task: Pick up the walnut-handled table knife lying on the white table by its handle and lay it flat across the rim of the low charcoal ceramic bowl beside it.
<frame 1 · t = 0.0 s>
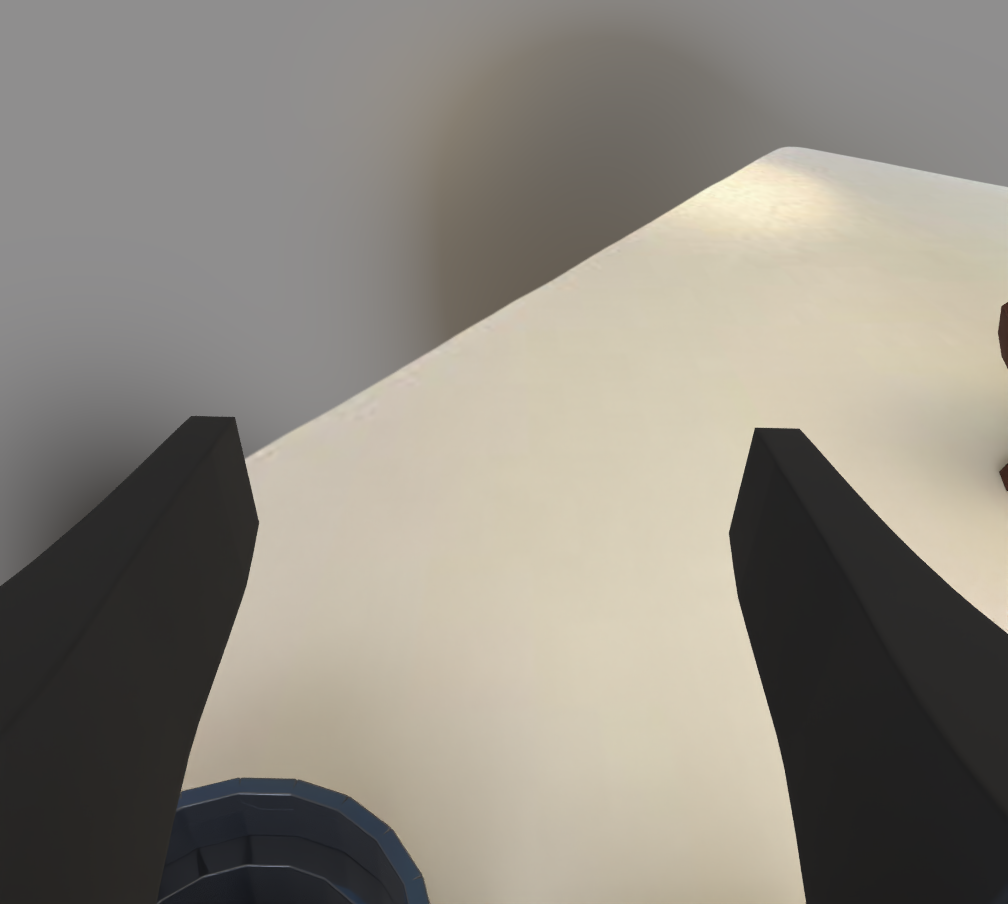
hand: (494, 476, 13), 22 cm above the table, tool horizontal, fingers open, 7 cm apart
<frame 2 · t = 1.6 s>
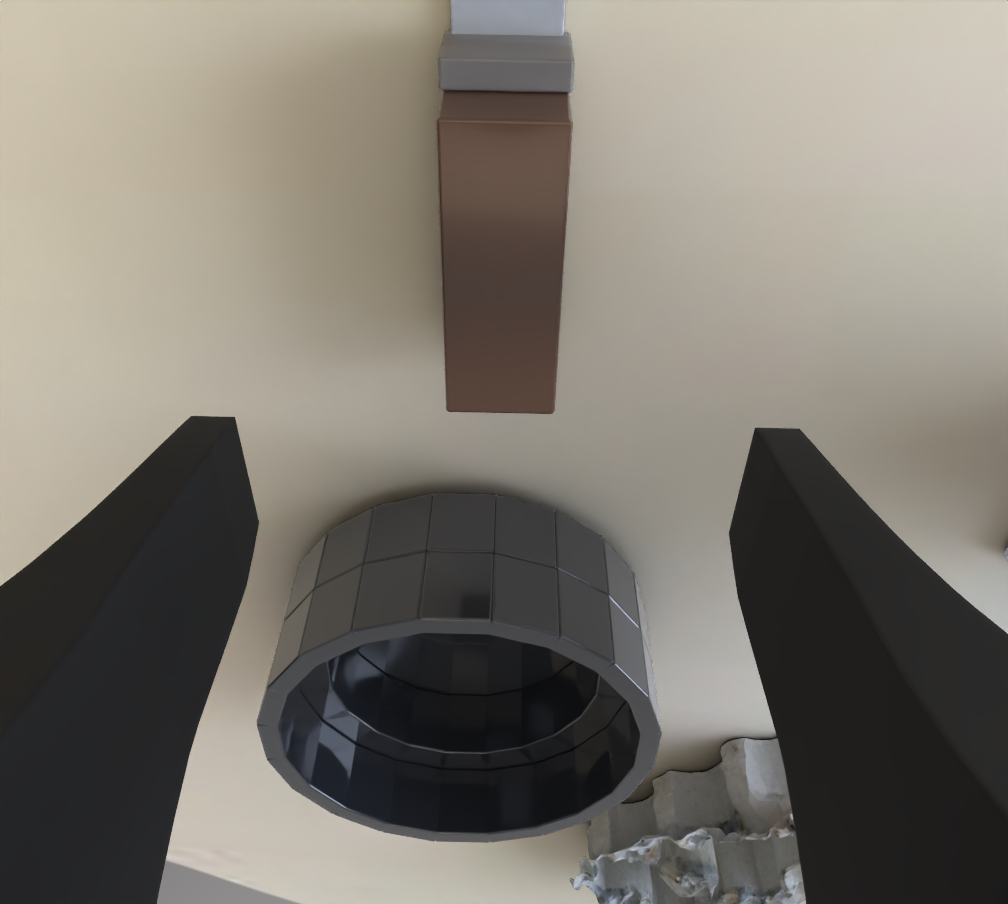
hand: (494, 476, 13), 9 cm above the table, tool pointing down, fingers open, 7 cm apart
knife: (507, 8, 17), on the table
egg carton: (714, 800, 37), on the table
bowl: (467, 608, 29), on the table
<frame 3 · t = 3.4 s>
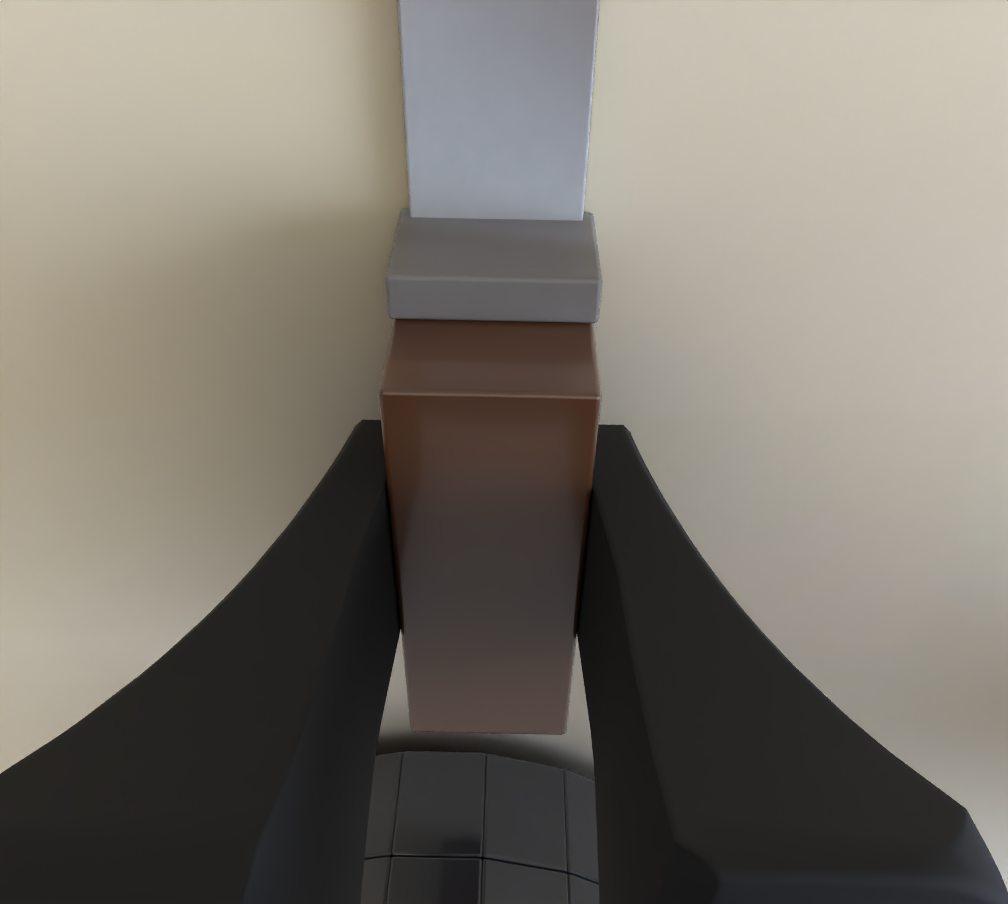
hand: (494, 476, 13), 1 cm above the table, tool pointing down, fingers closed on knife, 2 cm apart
knife: (497, 178, 11), on the table, touching gripper
bowl: (452, 852, 23), on the table
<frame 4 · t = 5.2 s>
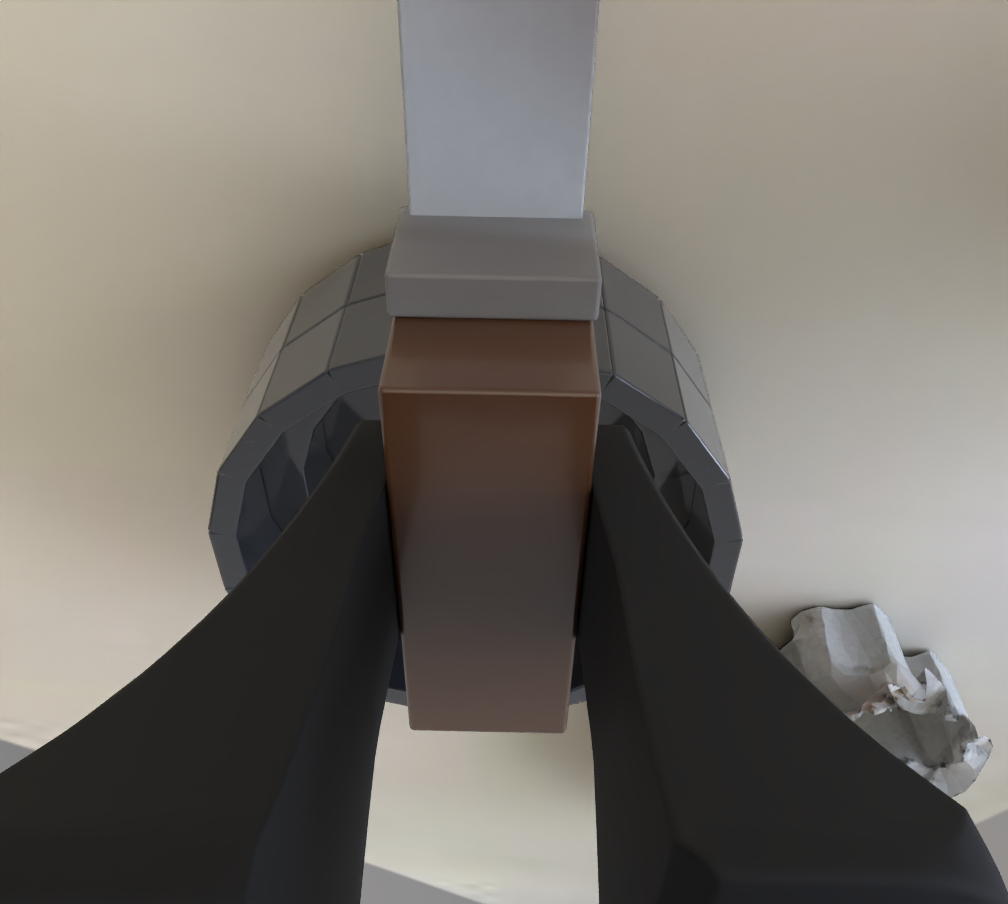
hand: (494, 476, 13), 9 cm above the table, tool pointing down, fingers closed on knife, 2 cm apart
knife: (496, 176, 11), point 7 cm above the table, touching gripper
egg carton: (778, 695, 31), on the table
bowl: (483, 421, 23), on the table
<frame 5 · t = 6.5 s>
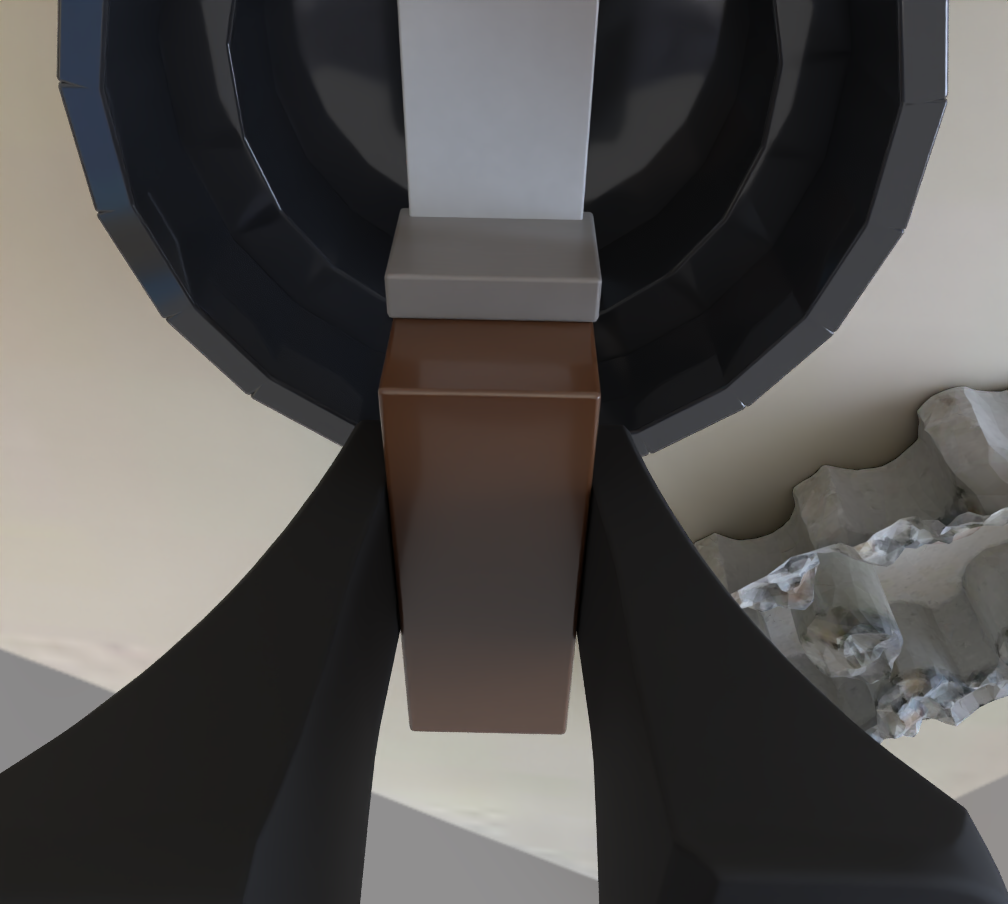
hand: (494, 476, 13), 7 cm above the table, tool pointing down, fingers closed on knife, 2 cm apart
knife: (496, 178, 11), point 6 cm above the table, touching gripper
egg carton: (882, 536, 23), on the table
bowl: (506, 45, 16), on the table
when the fingers open (6 cm above the table, at t = 6.9 s): knife stays where it is, resting on bowl.
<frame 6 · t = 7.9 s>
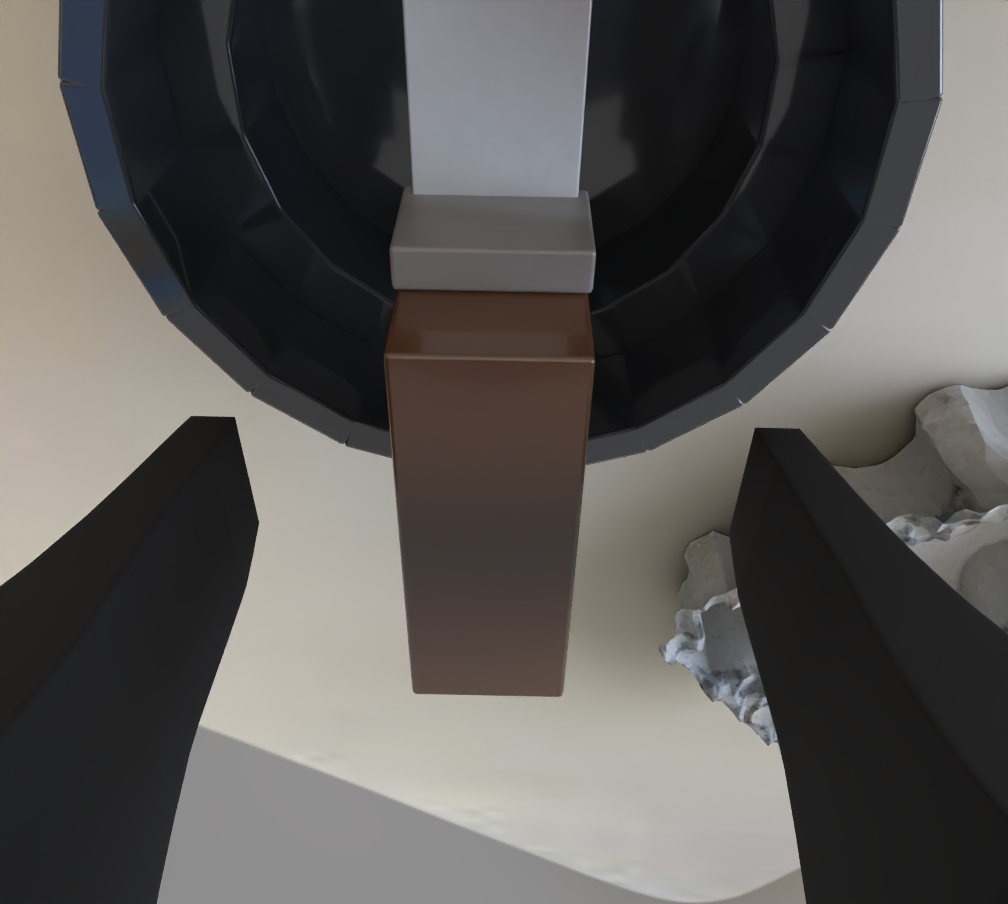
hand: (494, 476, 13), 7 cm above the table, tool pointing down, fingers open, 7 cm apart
knife: (496, 157, 12), point 5 cm above the table, touching bowl
egg carton: (880, 534, 24), on the table
bowl: (504, 45, 16), on the table
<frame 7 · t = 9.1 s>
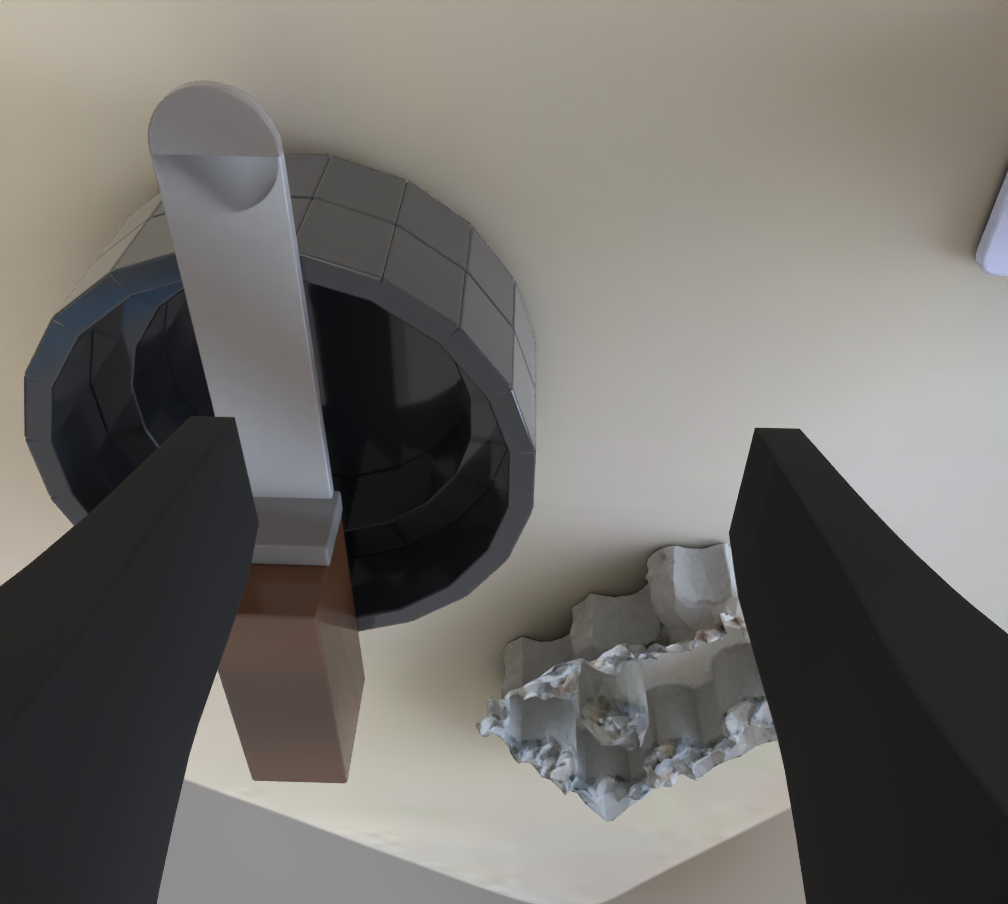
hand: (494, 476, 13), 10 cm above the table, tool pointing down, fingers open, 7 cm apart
knife: (283, 475, 20), point 5 cm above the table, touching bowl
egg carton: (648, 638, 32), on the table
bowl: (324, 350, 24), on the table
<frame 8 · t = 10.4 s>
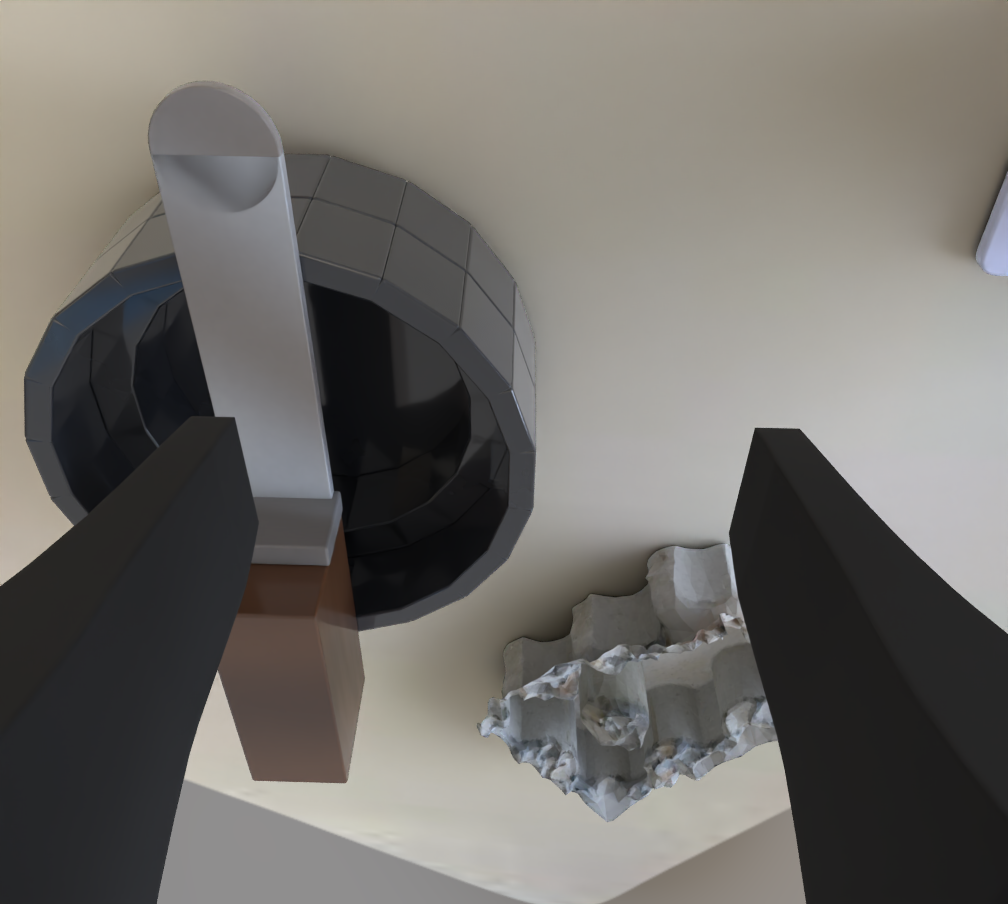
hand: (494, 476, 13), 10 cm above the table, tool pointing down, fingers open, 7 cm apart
knife: (283, 475, 20), point 5 cm above the table, touching bowl
egg carton: (648, 639, 32), on the table
bowl: (324, 350, 24), on the table
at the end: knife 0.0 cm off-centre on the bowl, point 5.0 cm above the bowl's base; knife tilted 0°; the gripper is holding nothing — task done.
